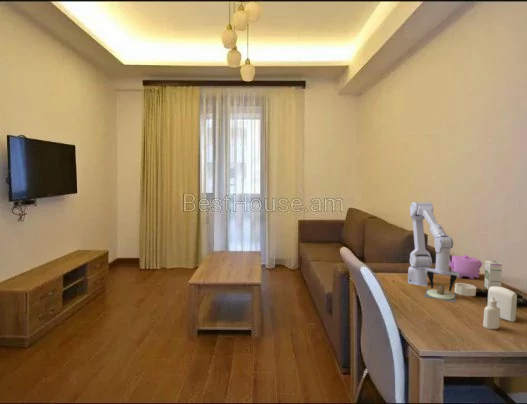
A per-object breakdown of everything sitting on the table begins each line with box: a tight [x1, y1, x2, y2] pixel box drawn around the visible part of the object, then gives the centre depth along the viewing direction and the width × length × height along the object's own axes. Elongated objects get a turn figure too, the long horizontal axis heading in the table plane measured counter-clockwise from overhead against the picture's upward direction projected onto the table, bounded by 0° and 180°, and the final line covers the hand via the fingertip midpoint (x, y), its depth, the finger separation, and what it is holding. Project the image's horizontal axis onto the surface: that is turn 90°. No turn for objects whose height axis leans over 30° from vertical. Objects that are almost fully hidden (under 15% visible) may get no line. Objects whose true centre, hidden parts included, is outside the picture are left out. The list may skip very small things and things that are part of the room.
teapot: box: [449, 254, 483, 280], centre depth 195 cm, size 20×10×12 cm, turn 72°
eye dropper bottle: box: [482, 297, 501, 330], centre depth 129 cm, size 4×6×12 cm
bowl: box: [454, 282, 477, 297], centre depth 166 cm, size 9×9×4 cm
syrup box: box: [483, 259, 503, 291], centre depth 173 cm, size 6×6×14 cm
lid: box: [427, 284, 455, 301], centre depth 162 cm, size 12×12×5 cm
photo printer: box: [486, 286, 518, 322], centre depth 139 cm, size 10×4×12 cm, turn 26°
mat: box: [423, 288, 458, 303], centre depth 162 cm, size 13×13×1 cm
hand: (441, 289), depth 162 cm, fingers open, 7 cm apart
